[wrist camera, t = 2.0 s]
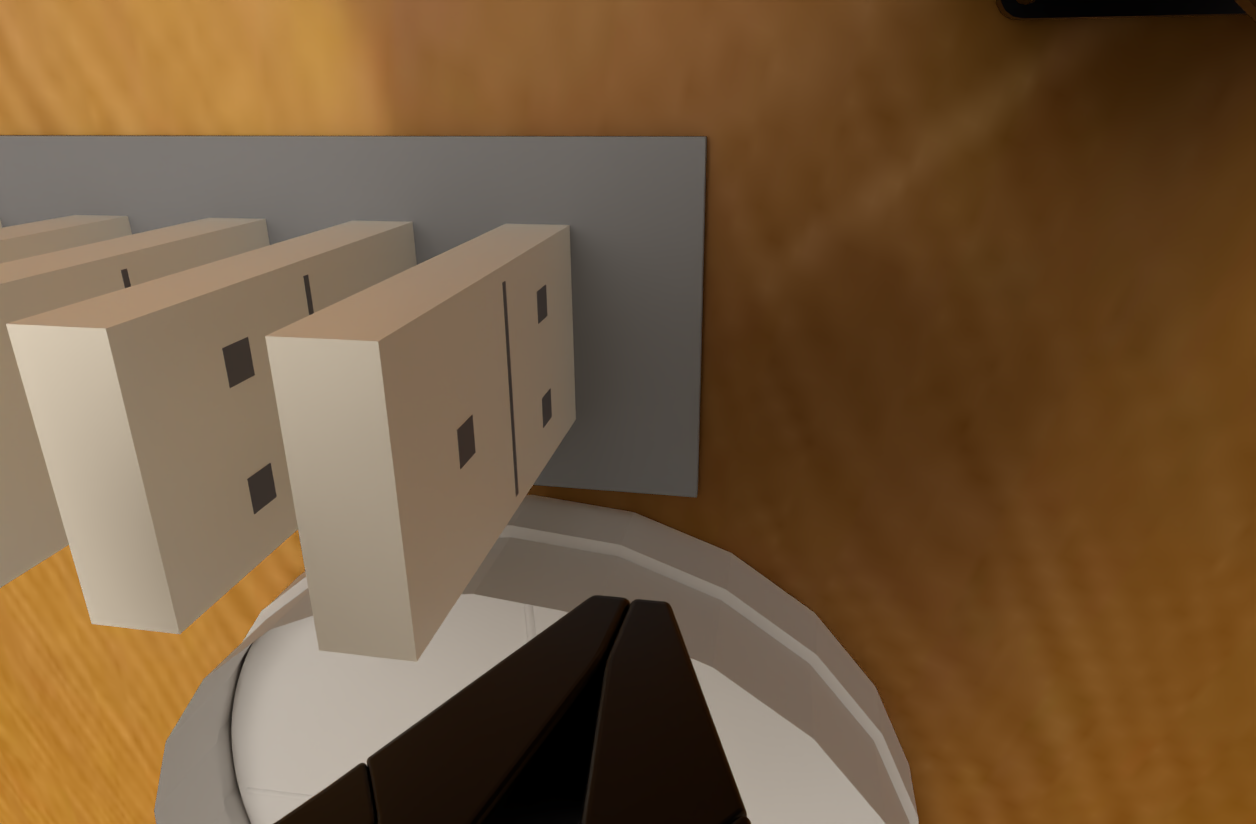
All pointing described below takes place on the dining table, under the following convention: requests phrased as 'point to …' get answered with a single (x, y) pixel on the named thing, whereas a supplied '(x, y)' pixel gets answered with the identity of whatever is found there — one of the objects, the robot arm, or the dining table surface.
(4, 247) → the tile
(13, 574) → the tile
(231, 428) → the tile
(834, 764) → the dish
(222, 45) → the dining table surface
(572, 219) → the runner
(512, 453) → the tile
